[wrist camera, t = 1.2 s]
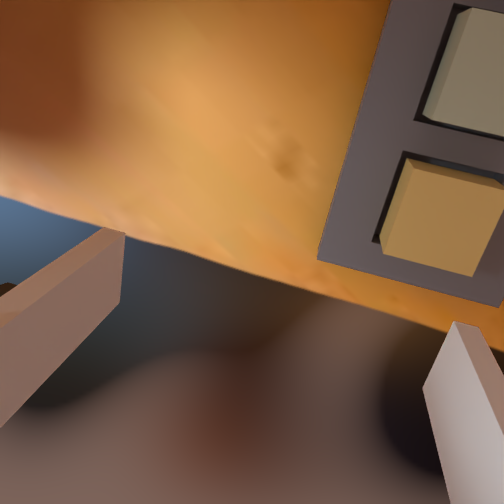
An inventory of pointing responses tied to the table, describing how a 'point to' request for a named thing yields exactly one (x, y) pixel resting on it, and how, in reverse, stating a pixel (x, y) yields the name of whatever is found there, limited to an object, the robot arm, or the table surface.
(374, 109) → the button board
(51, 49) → the table surface
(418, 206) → the ochre button
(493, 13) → the sage button
